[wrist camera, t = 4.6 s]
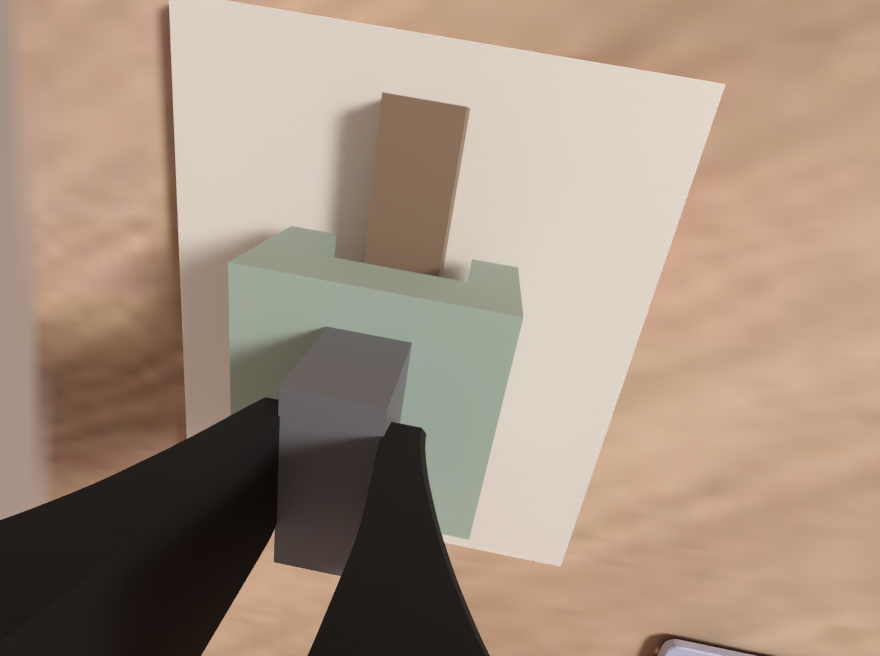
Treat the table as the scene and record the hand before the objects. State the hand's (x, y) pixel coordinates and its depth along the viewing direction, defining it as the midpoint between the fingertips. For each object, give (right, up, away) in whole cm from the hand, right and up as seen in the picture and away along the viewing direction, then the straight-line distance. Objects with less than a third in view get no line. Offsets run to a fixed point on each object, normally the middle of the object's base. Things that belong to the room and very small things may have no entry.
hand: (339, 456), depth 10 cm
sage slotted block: (+1, +2, +5) cm, 5 cm away
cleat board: (+1, +3, +7) cm, 7 cm away
